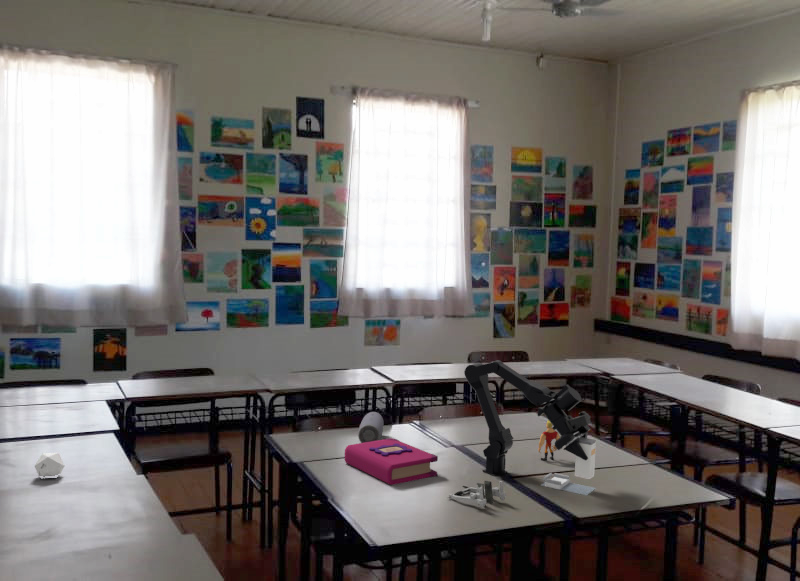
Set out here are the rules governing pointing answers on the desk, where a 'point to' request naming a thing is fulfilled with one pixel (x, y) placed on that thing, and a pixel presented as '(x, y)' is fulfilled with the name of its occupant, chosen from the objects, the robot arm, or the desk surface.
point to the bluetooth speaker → (371, 427)
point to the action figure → (548, 440)
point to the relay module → (586, 466)
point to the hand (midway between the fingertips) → (589, 457)
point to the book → (391, 460)
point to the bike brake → (480, 493)
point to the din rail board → (565, 484)
